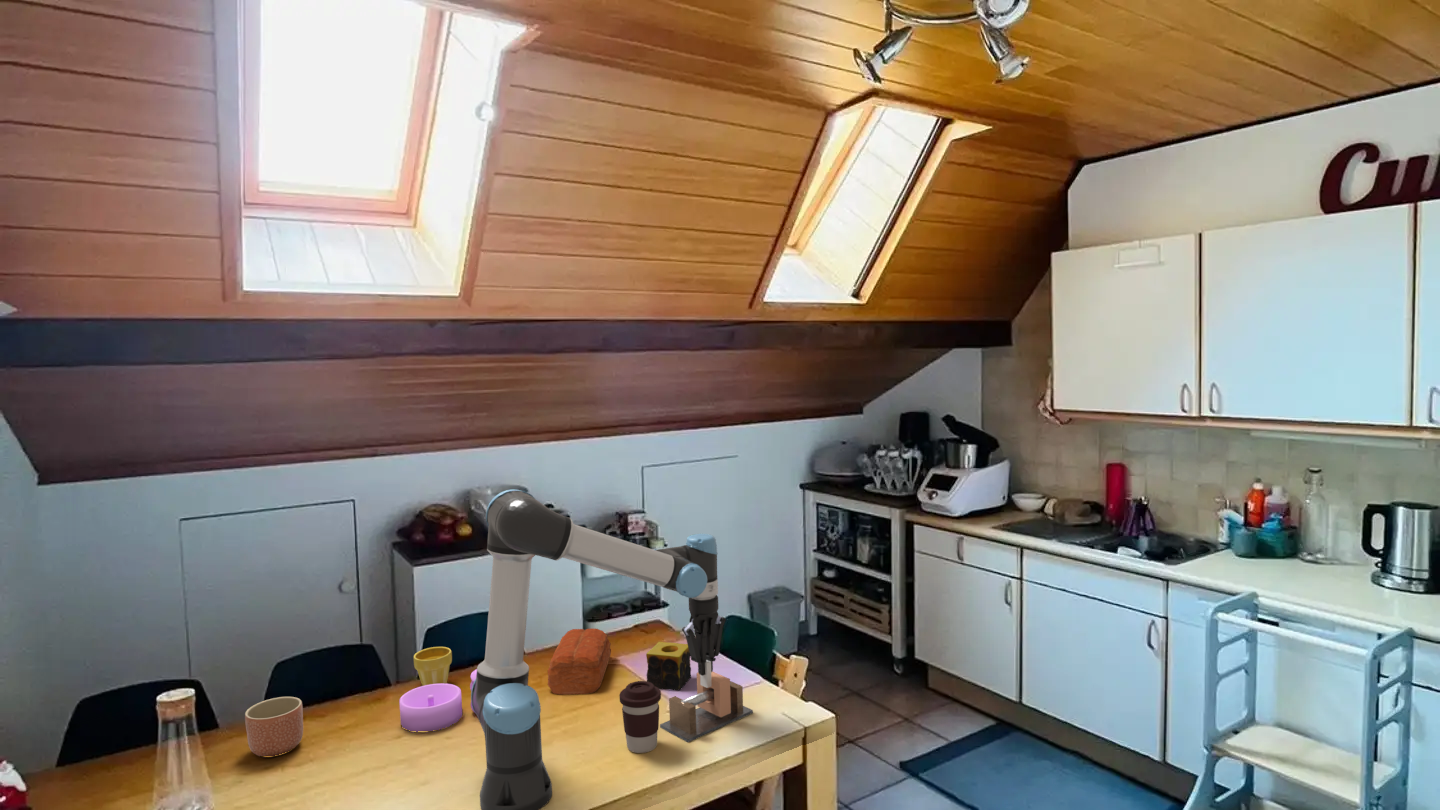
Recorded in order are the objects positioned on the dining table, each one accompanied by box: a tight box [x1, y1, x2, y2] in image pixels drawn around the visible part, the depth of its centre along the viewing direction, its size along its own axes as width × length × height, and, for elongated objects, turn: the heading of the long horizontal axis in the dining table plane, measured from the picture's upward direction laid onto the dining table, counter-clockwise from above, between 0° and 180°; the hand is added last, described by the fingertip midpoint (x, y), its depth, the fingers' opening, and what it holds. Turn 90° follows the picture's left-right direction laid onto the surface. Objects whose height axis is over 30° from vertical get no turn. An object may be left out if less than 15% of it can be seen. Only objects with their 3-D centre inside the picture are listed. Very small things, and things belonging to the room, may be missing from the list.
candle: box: [645, 641, 692, 692], centre depth 237 cm, size 10×10×10 cm
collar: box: [696, 670, 731, 717], centre depth 214 cm, size 4×9×9 cm, turn 42°
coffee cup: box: [618, 680, 662, 754], centre depth 200 cm, size 10×10×15 cm
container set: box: [398, 668, 477, 732], centre depth 219 cm, size 25×15×13 cm, turn 104°
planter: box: [244, 696, 304, 757], centre depth 203 cm, size 12×12×11 cm
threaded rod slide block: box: [659, 680, 754, 743], centre depth 213 cm, size 22×11×8 cm, turn 132°
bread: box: [547, 628, 612, 696], centre depth 244 cm, size 16×27×11 cm, turn 0°
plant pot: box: [413, 646, 453, 686], centre depth 239 cm, size 10×10×10 cm
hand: (706, 685), depth 212 cm, fingers closed
